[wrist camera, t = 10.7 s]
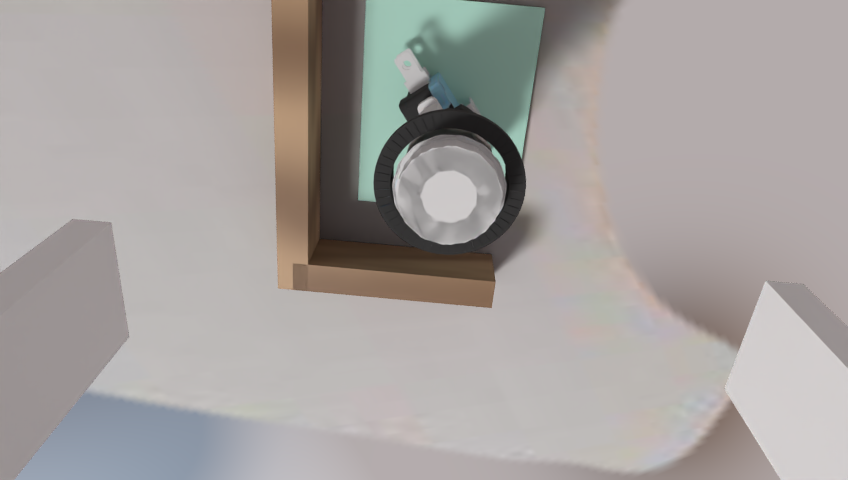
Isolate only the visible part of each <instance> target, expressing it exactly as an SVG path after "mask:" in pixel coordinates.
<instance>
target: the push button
mask: <svg viewBox="0 0 848 480" xmlns="http://www.w3.org/2000/svg"><path fill="white" fill-rule="evenodd" d="M404 61H409V62H410V63H411V66H406V65H405V64H404ZM394 62H395V64H396V66H397V67H398V69H399V70H400V72H401V74H402V75H403V77H404V78H405V80H406V82H404V85H405V86H406V88H407V89H408V91H409V92H408V95H407V96H406V97H405V98H403V99H402V100H400V103H399V109H400V111H401V112H402V114H403V116H404V117H405V119H406V120H407V122H406V123H404V124H403V125H402V126H400V127H399V128H398V129H397V130H396V131H395V132H394V133H393V134H392V135H391V136H390V138H389V139H388V140H387V142H386V143H385V145H384V147H383V148H382V150H381V153H380V155H379V157H378V160H377V163H376V167H375V172H374V181H373V184H374V195H375V199H376V203H377V206H378V209H379V211H380V213H381V215H382V217H383V219H384V220H385V222H386V223H387V225H388V226H389V227H390V228H391V230H392V231H393V232H394V233H395V234H396V235H397V236H399V237H400V238H401V239H402V240H404V241H405V242H407V243H409V244H410V245H412V246H414V247H416V248H418V249H421V250H423V251H427V252H430V253H435V254H443V255H456V254H463V253H468V252H472V251H475V250H478V249H480V248H483V247H485V246H487V245H489V244H490V243H492V242H493V241H495V240H496V239H498V238H499V237H500V236H501V235H503V234H504V233H505V232H506V231H507V230H508V228H509V227H510V226H511V225H512V223H513V222H514V220H515V219H516V217H517V215H518V213H519V211H520V209H521V206H522V204H523V200H524V196H525V189H526V177H525V170H524V165H523V162H522V159H521V156H520V153H519V151H518V149H517V147H516V145H515V144H514V142H513V141H512V139H511V138H510V137H509V136H508V134H507V133H506V132H505V131H504V130H503V129H502V128H501V127H499V126H498V125H497V124H496V123H494V122H493V121H491V120H489V119H488V118H486V117H484V116H482V115H481V114H480V112H479V110H478V108H477V107H476V105H475V103H474V102H473V100H472V99H471V97H469V102H470V104H469V105H467V106H464V105H463V104H460V105H459V103H458V102H457V100H456V98H455V97H454V95H453V93H452V92H451V90H450V88H449V87H448V85H447V83H446V82H445V80H444V79H443V77H442V75H441V74H440V73H439V72H438V73H437V74H435V75H434V76H432V77H431V75H430V74H429V72H428V70H427V69H426V67H423V68H422V67H421V65H420V64H419V62H418V61H417V59H416V57H415V56H414V54H413V52H412V51H411V49H409V48H408V49H406V50H405V51H403V52H401V53H400V54H398V55H397V56H396V59H395V60H394ZM487 141H488V142H489V143H490V144H491V145H492V146H493V147H494V148H495V149H496V150H497V151H498V153H499V154H500V156H501V157H502V159H503V161H504V163H505V176H504V172H503V169H502V166H501V164H500V162H499V161H498V159H497V158H496V157H495V156H494V155H493V153H492V149H491V146H490V144H489V143H488V142H487ZM409 143H410V144H409ZM408 144H409V147H408V150H407V154H406V155H405V156H404V157H403V158H402V159H401V161H400V162H399V164H398V166H397V170H396V173H395V176H394V163H395V161H396V159H397V158H398V156H399V154H400V153H401V152H402V150H403V149H404V148H405V147H406V146H407V145H408Z"/></svg>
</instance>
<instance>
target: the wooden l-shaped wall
mask: <svg viewBox="0 0 848 480" xmlns="http://www.w3.org/2000/svg"><path fill="white" fill-rule="evenodd" d="M271 2H272V46H273V89H274V133H275V177H276V220H277V264H278V288H280V289H291V290H302V291H313V292H323V293H334V294H345V295H356V296H367V297H378V298H389V299H400V300H411V301H422V302H433V303H444V304H454V305H465V306H476V307H487V308H492V301H493V295H494V288H495V275H494V267H493V260H492V254H481V253H470V252H468V253H463V254H456V255H443V254H435V253H430V252H427V251H423V250H421V249H418V248H415V247H405V246H394V245H383V244H372V243H361V242H350V241H339V240H328V239H320V160H321V63H322V0H271Z"/></svg>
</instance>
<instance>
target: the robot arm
mask: <svg viewBox="0 0 848 480" xmlns="http://www.w3.org/2000/svg"><path fill="white" fill-rule="evenodd" d="M128 337H129V332H128V326H127V319H126V313H125V307H124V300H123V294H122V288H121V281H120V275H119V269H118V262H117V256H116V250H115V244H114V237H113V231H112V225H111V222H100V221H89V220H78V219H72V220H71V221H69V222H68V223H67V224H65V225H64V226H63V227H61V228H60V229H59V230H57V231H56V232H55V233H53V234H52V235H51V236H49V237H48V238H47V239H45V240H44V241H43V242H41V243H40V244H38V245H37V246H36V247H34V248H33V249H32V250H30V251H29V252H28V253H26V254H25V255H24V256H22V257H21V258H20V259H18V260H17V261H16V262H14V263H13V264H12V265H10V266H9V267H8V268H6V269H5V270H3V271H2V272H1V273H0V480H14V479H15V478H16V477H17V476H18V474H19V473H20V472H21V470H22V469H23V468H24V467H25V466H26V464H27V463H28V462H29V461H30V459H31V458H32V457H33V456H34V454H35V453H36V452H37V451H38V449H39V448H40V447H41V446H42V444H43V443H44V442H45V441H46V439H47V438H48V437H49V436H50V434H51V433H52V432H53V431H54V429H55V428H56V427H57V426H58V425H59V423H60V422H61V421H62V420H63V418H64V417H65V416H66V415H67V413H68V412H69V411H70V410H71V408H72V407H73V406H74V405H75V403H76V402H77V401H78V400H79V398H80V397H81V396H82V395H83V393H84V392H85V391H86V390H87V388H88V387H89V386H90V385H91V384H92V382H93V381H94V380H95V379H96V377H97V376H98V375H99V374H100V372H101V371H102V370H103V369H104V367H105V366H106V365H107V364H108V362H109V361H110V360H111V359H112V357H113V356H114V355H115V354H116V352H117V351H118V350H119V349H120V347H121V346H122V345H123V344H124V342H125V341H126V340H127V339H128ZM725 391H726V392H727V394H728V395H729V397H730V399H731V400H732V402H733V403H734V405H735V407H736V408H737V410H738V412H739V413H740V415H741V416H742V418H743V420H744V421H745V423H746V424H747V426H748V428H749V429H750V431H751V433H752V434H753V436H754V437H755V439H756V441H757V442H758V444H759V446H760V447H761V449H762V450H763V452H764V453H765V455H766V457H767V458H768V460H769V462H770V463H771V465H772V466H773V468H774V470H775V471H776V473H777V475H778V476H779V478H780V479H781V480H848V326H847V325H845V323H843V322H842V321H841V320H840V319H839V318H838V317H837V316H836V315H835V314H834V313H833V312H832V311H831V310H830V309H829V308H828V307H826V305H825V304H824V303H823V302H822V301H821V300H820V299H819V298H818V297H817V296H815V295H814V294H813V293H812V292H811V291H810V290H809V289H808V288H807V287H806V286H805V285H804V284H797V283H787V282H786V283H785V282H775V281H765V283H764V286H763V289H762V292H761V294H760V297H759V299H758V302H757V305H756V307H755V310H754V313H753V315H752V318H751V320H750V323H749V326H748V328H747V331H746V334H745V337H744V339H743V342H742V345H741V347H740V349H739V352H738V355H737V357H736V360H735V363H734V365H733V368H732V370H731V373H730V376H729V378H728V381H727V384H726V386H725Z"/></svg>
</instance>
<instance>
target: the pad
mask: <svg viewBox="0 0 848 480" xmlns="http://www.w3.org/2000/svg"><path fill="white" fill-rule="evenodd" d="M544 13H545V8H543V7H532V6H521V5H510V4H499V3H489V2H478V1H467V0H366V10H365V35H364V61H363V87H362V112H361V138H360V163H359V189H358V200H362V201H372V202H376V199H375V195H374V184H373V181H374V172H375V167H376V163H377V160H378V157H379V155H380V153H381V150H382V148H383V147H384V145H385V143H386V142H387V140H388V139H389V138H390V136H391V135H392V134H393V133H394V132H395V131H396V130H397V129H398V128H399V127H400V126H402V125H403V124H404V123H406V122H407V120H406V119H405V117H404V116H403V114H402V112H401V111H400V109H399V103H400V100H402V99H403V98H405V97H406V96H407V95H408V92H409V91H408V89H407V88H406V86H405V85H404V82H406V80H405V78H404V77H403V75H402V74H401V72H400V70H399V69H398V67H397V66H396V64H395V62H394V60H395V59H396V56H397V55H398V54H400V53H401V52H403V51H405V50H406V49H408V48H409V49H411V51H412V52H413V54H414V56H415V57H416V59H417V61H418V62H419V64H420V65H421V67H422V68H423V67H426V69H427V70H428V72H429V74H430V75H431V77H432V76H434V75H435V74H437V73H438V72H439V73H440V74H441V75H442V77H443V79H444V80H445V82H446V83H447V85H448V87H449V88H450V90H451V92H452V93H453V95H454V97H455V98H456V100H457V102H458V103H459V105H460V104H463V105H464V106H467V105H469V104H470V102H469V97H471V99H472V100H473V102H474V103H475V105H476V107H477V108H478V110H479V112H480V114H481V115H482V116H484V117H486V118H488V119H489V120H491V121H493V122H494V123H496V124H497V125H498V126H499V127H501V128H502V129H503V130H504V131H505V132H506V133H507V134H508V136H509V137H510V138H511V139H512V141H513V142H514V144H515V145H516V147H517V149H518V151H519V153H520V156H521V159H522V153H523V146H524V140H525V134H526V127H527V121H528V115H529V108H530V102H531V96H532V89H533V83H534V77H535V70H536V64H537V58H538V51H539V45H540V38H541V32H542V26H543V19H544ZM404 64H405V65H406V66H411V63H410V62H409V61H404ZM487 142H488V141H487ZM488 143H489V142H488ZM409 144H410V143H409ZM409 144H408V145H407V146H406V147H405V148H404V149H403V150H402V152H401V153H400V154H399V156H398V158H397V159H396V161H395V163H394V176H395V173H396V170H397V166H398V164H399V162H400V161H401V159H402V158H403V157H404V156H405V155H406V154H407V150H408V147H409ZM489 144H490V143H489ZM490 146H491V149H492V153H493V155H494V156H495V157H496V158H497V159H498V161H499V162H500V164H501V166H502V169H503V172H504V176H505V163H504V161H503V159H502V157H501V156H500V154H499V153H498V151H497V150H496V149H495V148H494V147H493V146H492V145H491V144H490Z"/></svg>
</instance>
